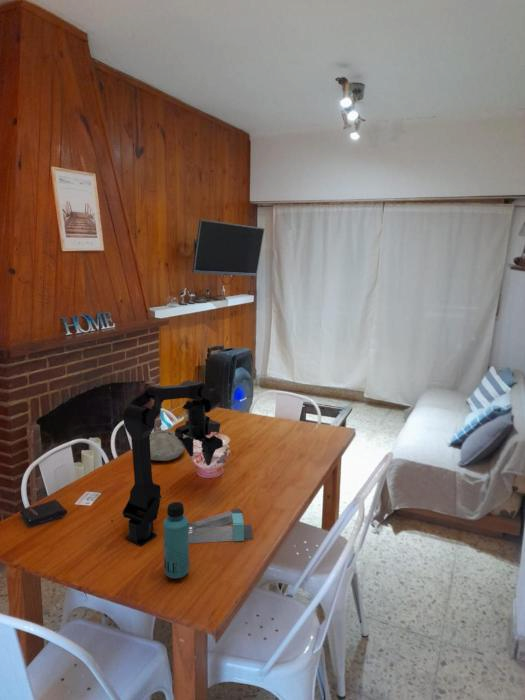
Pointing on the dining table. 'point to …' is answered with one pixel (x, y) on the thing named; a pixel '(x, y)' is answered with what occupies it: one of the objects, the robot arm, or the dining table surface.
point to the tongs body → (214, 533)
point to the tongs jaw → (217, 519)
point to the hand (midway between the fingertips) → (199, 460)
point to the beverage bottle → (176, 542)
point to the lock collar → (238, 527)
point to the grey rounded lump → (165, 445)
